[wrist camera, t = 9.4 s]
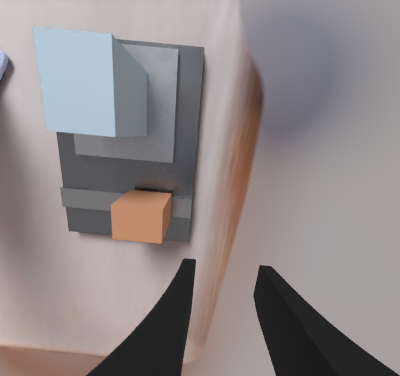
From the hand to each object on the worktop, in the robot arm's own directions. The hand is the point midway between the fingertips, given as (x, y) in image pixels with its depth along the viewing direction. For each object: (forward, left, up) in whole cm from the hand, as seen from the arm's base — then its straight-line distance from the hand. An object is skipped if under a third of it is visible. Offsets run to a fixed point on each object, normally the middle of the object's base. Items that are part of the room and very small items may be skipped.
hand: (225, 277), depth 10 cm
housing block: (+3, +13, -9) cm, 16 cm away
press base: (-1, +10, -10) cm, 15 cm away
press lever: (-4, +5, -9) cm, 11 cm away
